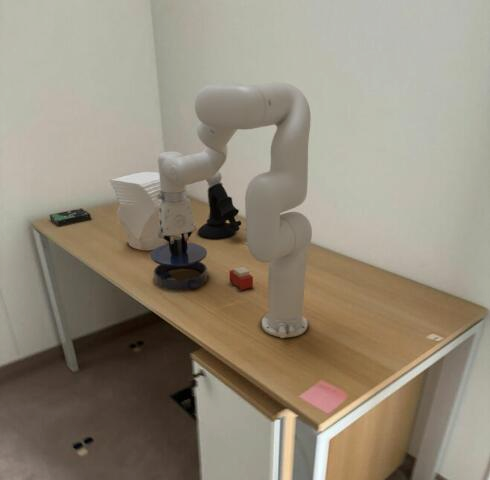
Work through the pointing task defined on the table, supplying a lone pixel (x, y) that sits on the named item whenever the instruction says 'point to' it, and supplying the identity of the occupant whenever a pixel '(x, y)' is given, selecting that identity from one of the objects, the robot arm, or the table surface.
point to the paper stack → (139, 209)
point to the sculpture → (219, 212)
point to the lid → (178, 254)
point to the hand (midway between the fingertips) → (178, 252)
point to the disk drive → (70, 217)
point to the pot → (170, 282)
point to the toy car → (241, 278)
